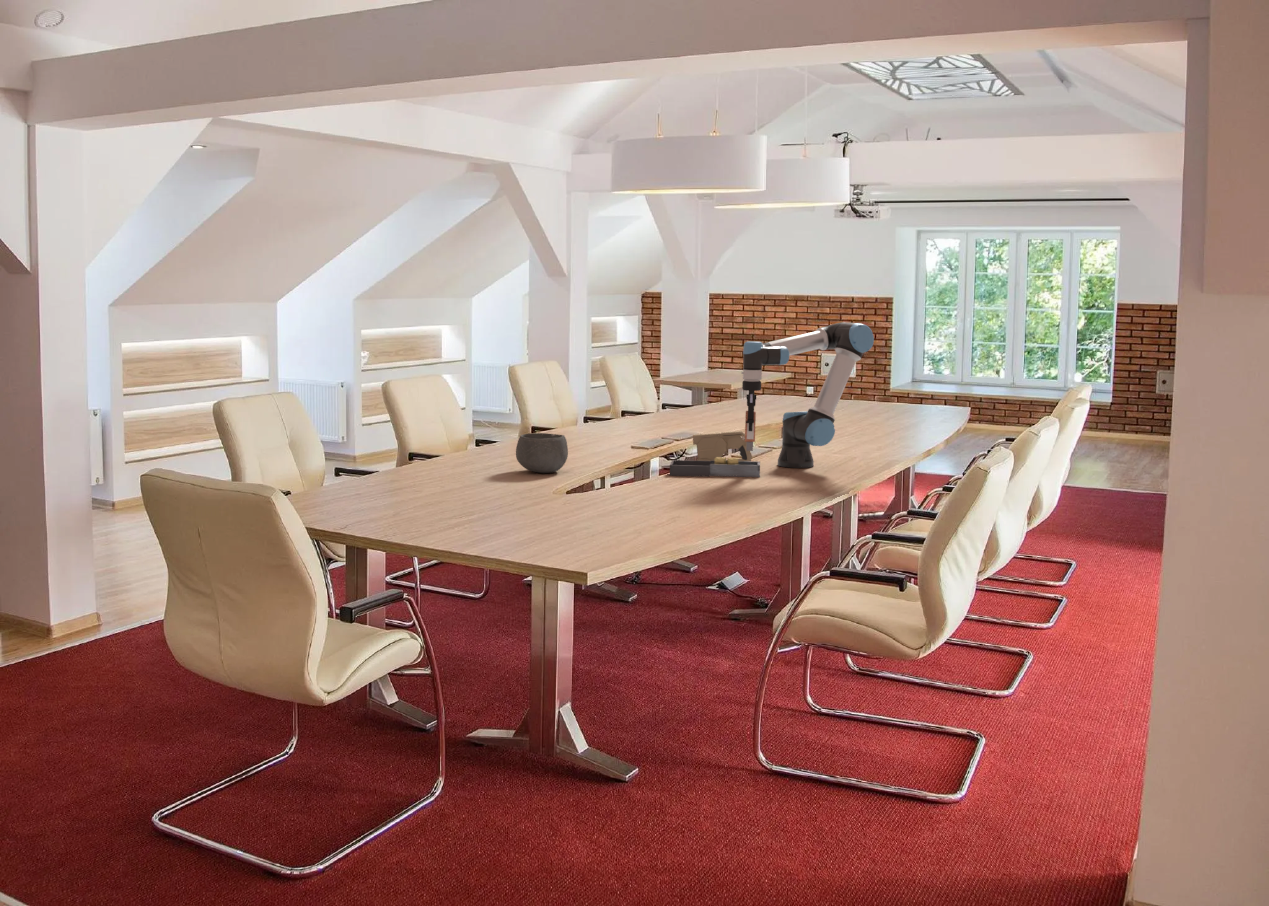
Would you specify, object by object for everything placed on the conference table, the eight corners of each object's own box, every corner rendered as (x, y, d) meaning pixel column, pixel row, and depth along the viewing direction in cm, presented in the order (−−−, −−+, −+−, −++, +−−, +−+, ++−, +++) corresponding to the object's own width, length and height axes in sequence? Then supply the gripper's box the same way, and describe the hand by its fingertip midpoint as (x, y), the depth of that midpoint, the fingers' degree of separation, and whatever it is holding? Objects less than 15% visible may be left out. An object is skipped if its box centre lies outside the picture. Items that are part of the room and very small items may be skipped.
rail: (759, 472, 497) (760, 461, 496) (759, 477, 486) (760, 465, 486) (710, 471, 499) (711, 460, 498) (709, 475, 489) (709, 464, 488)
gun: (752, 465, 516) (750, 430, 514) (752, 466, 513) (750, 431, 511) (695, 468, 519) (692, 434, 517) (695, 470, 516) (692, 435, 514)
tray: (711, 470, 501) (711, 460, 500) (709, 476, 487) (709, 466, 486) (672, 470, 502) (672, 459, 502) (669, 475, 488) (669, 465, 488)
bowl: (506, 473, 490) (506, 436, 487) (532, 466, 508) (532, 430, 506) (552, 477, 481) (552, 440, 479) (577, 470, 500) (577, 434, 498)
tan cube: (736, 467, 494) (737, 457, 493) (738, 469, 490) (738, 459, 489) (727, 467, 494) (727, 457, 493) (728, 469, 490) (728, 459, 489)
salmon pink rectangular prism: (754, 448, 494) (755, 410, 491) (754, 451, 487) (755, 412, 485) (744, 448, 494) (745, 410, 492) (744, 450, 487) (745, 412, 485)
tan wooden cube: (726, 467, 495) (726, 457, 494) (724, 468, 491) (724, 458, 490) (716, 466, 496) (716, 457, 495) (714, 468, 492) (714, 458, 491)
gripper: (742, 378, 495) (741, 435, 499) (742, 381, 478) (740, 440, 482) (761, 378, 494) (759, 435, 498) (761, 382, 478) (759, 441, 481)
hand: (750, 438), depth 490 cm, fingers closed on salmon pink rectangular prism, 4 cm apart
